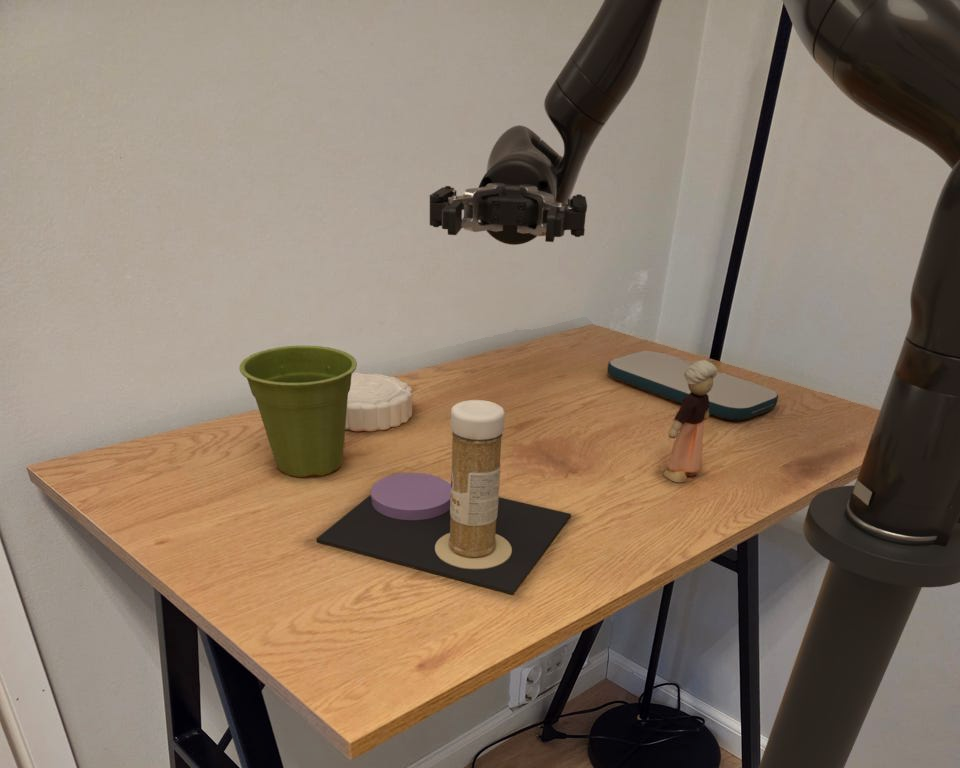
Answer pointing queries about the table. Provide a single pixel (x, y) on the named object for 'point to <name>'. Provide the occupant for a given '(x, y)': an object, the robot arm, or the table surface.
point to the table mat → (428, 548)
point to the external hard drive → (669, 381)
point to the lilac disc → (411, 496)
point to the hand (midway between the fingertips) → (500, 225)
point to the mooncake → (377, 402)
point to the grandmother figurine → (691, 423)
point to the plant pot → (302, 404)
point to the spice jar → (475, 476)
